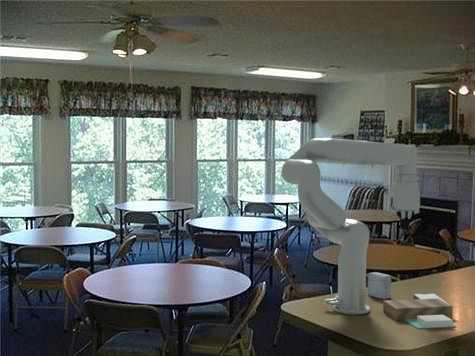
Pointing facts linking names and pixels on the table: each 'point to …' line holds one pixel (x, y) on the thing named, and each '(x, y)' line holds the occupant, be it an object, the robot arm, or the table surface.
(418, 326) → the mat
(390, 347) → the table surface
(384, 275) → the medicine box
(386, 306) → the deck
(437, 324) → the white box
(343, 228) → the robot arm
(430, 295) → the smartphone
